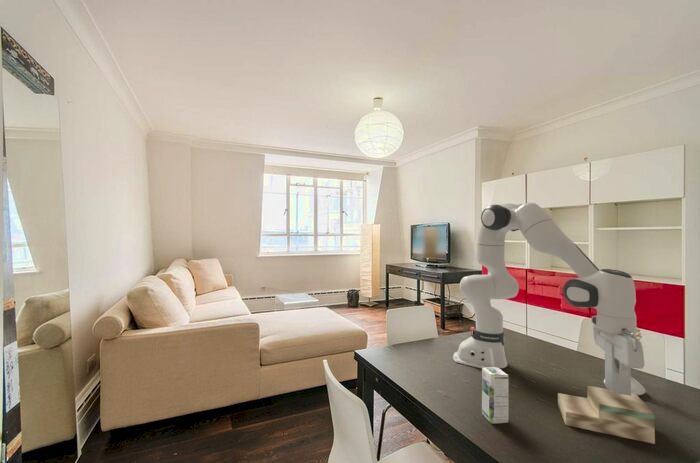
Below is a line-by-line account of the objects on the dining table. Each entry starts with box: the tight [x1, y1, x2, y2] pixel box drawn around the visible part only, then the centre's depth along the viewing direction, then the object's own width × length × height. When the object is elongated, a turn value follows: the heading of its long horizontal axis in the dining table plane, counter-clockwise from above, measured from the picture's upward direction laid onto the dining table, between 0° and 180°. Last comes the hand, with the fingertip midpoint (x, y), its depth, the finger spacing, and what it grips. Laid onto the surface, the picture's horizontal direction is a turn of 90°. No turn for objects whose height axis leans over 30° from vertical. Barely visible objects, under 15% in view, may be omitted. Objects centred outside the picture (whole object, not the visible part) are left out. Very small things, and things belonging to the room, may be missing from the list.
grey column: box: [604, 340, 632, 396], centre depth 91 cm, size 4×4×14 cm
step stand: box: [557, 385, 656, 445], centre depth 92 cm, size 20×12×8 cm, turn 65°
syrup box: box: [481, 367, 509, 425], centre depth 95 cm, size 6×6×14 cm
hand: (617, 371), depth 91 cm, fingers closed on grey column, 4 cm apart
